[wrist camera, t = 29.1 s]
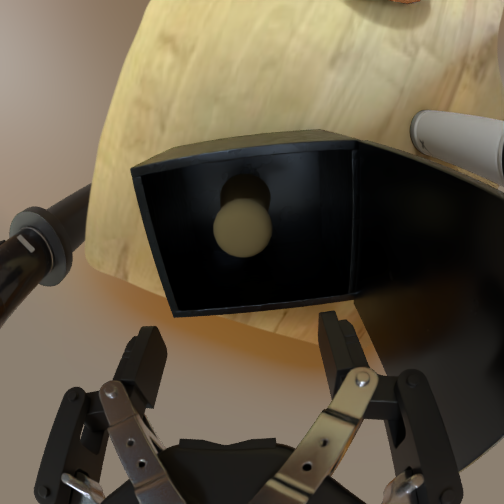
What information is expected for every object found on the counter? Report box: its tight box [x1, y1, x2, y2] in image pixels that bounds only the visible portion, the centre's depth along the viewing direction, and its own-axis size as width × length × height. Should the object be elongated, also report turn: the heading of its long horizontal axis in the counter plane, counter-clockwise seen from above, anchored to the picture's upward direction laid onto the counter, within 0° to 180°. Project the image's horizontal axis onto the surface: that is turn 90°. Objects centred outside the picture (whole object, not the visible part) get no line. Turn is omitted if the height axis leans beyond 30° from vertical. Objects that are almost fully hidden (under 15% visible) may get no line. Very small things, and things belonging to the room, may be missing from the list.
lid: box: [354, 140, 504, 473], centre depth 13 cm, size 19×15×6 cm
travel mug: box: [410, 110, 504, 187], centre depth 20 cm, size 6×7×20 cm
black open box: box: [130, 129, 360, 318], centre depth 28 cm, size 18×15×13 cm
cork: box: [213, 174, 273, 257], centre depth 28 cm, size 6×6×11 cm
